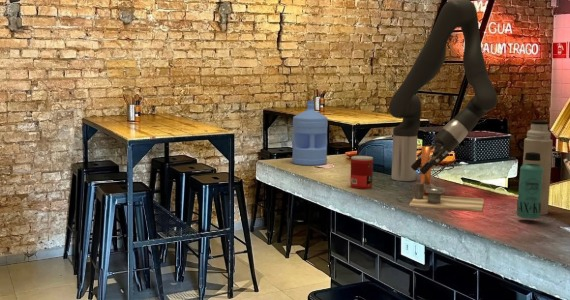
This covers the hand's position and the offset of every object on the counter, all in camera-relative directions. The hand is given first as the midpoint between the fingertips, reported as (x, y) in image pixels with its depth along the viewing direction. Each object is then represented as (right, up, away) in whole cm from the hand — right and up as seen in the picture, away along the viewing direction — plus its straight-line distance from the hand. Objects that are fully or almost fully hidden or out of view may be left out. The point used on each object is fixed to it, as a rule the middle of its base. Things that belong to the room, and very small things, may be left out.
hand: (417, 170), depth 218 cm
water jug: (-34, +1, +73) cm, 81 cm away
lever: (+3, -9, -5) cm, 11 cm away
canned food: (-17, -7, +17) cm, 25 cm away
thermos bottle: (+32, -12, -20) cm, 39 cm away
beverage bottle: (+25, -14, -32) cm, 43 cm away
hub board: (+8, -10, -9) cm, 16 cm away
